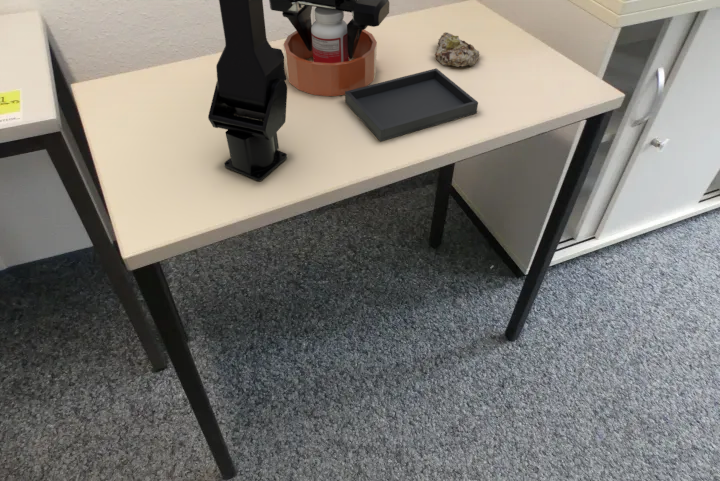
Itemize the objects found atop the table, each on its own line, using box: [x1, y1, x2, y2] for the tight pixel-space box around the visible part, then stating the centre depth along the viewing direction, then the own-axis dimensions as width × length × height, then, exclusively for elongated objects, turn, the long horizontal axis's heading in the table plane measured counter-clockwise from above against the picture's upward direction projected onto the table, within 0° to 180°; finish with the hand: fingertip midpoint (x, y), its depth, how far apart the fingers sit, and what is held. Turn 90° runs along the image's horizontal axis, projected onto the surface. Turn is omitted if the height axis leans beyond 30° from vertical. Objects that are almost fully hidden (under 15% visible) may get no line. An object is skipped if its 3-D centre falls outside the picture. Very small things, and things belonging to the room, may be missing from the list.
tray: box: [344, 68, 479, 142], centre depth 84 cm, size 17×12×2 cm
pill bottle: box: [311, 7, 350, 63], centre depth 88 cm, size 6×6×11 cm
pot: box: [283, 29, 378, 97], centre depth 90 cm, size 15×15×6 cm
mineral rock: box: [434, 32, 481, 68], centre depth 96 cm, size 11×4×8 cm
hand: (331, 53), depth 90 cm, fingers closed on pill bottle, 7 cm apart
